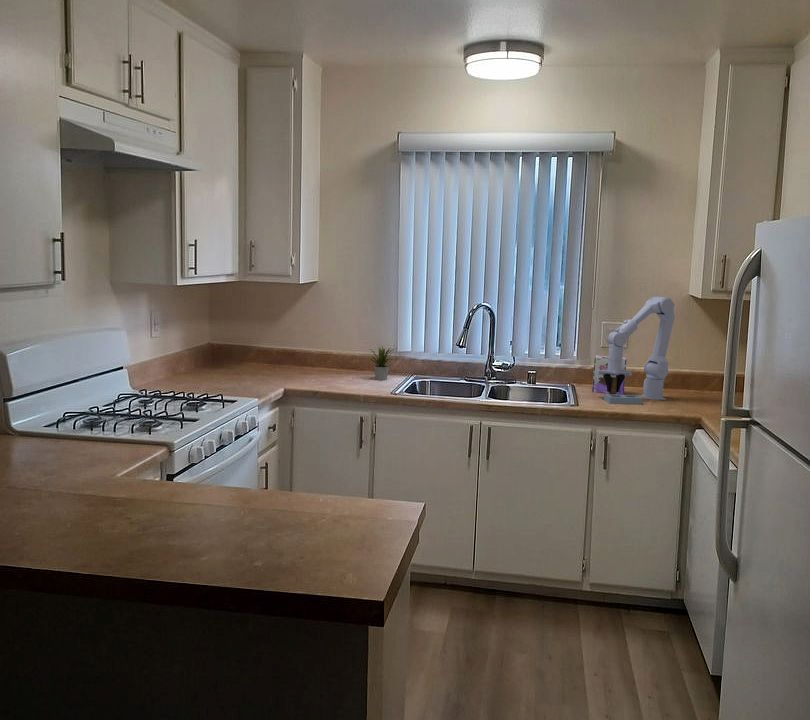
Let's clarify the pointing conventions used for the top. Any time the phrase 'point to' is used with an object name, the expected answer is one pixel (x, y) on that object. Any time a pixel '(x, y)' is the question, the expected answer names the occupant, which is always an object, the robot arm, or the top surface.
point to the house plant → (381, 364)
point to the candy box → (599, 380)
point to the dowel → (613, 386)
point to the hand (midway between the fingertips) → (612, 391)
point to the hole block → (623, 399)
